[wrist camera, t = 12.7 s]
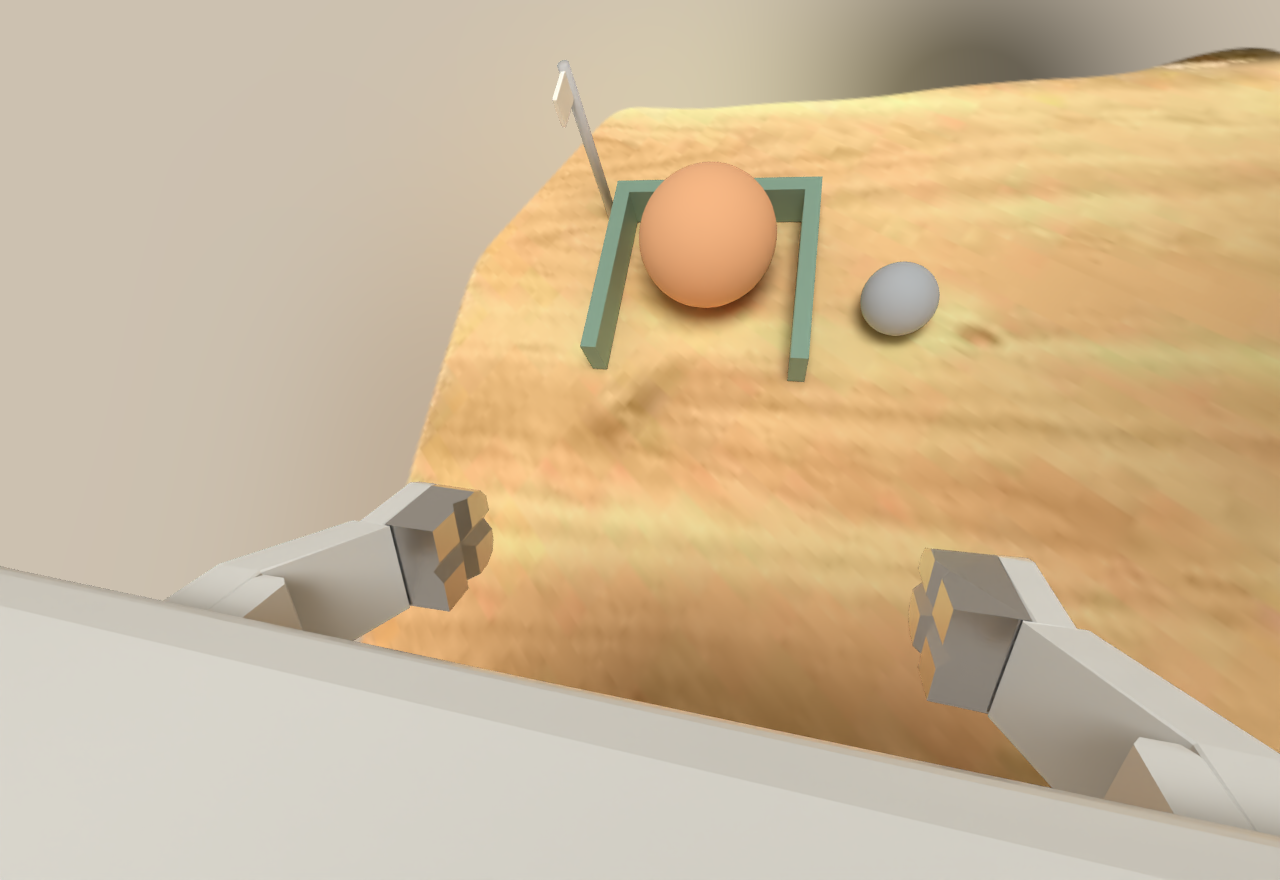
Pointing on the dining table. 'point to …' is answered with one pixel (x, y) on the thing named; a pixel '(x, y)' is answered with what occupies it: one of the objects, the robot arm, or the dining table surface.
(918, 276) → the grey ball
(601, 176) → the green u-shaped frame
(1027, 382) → the dining table surface
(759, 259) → the ball
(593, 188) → the dining table surface
